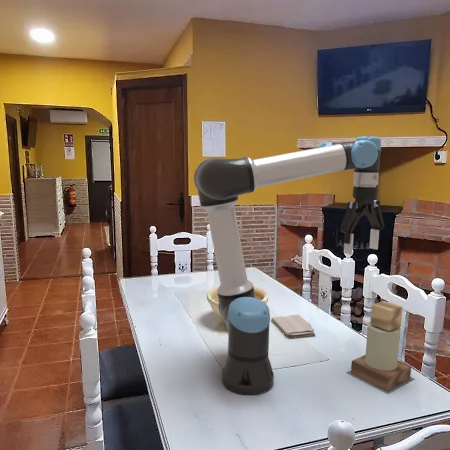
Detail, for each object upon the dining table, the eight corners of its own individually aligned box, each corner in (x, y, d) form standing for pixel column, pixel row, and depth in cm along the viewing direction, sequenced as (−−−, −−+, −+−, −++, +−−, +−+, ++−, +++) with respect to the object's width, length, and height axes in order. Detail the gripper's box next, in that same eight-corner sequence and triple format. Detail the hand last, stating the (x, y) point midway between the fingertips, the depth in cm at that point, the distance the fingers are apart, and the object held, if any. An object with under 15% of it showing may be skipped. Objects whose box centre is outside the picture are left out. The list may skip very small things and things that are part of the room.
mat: (387, 395, 112) (387, 394, 112) (345, 373, 123) (345, 372, 123) (415, 380, 120) (415, 378, 120) (373, 361, 131) (373, 360, 131)
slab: (386, 391, 113) (387, 378, 113) (350, 373, 123) (351, 360, 122) (410, 378, 120) (411, 365, 120) (374, 362, 130) (375, 350, 129)
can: (400, 372, 116) (404, 332, 114) (366, 369, 117) (369, 329, 116) (394, 357, 125) (397, 320, 123) (362, 354, 126) (365, 317, 125)
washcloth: (287, 340, 147) (288, 332, 146) (269, 322, 164) (269, 314, 163) (317, 337, 150) (318, 329, 149) (296, 319, 167) (297, 312, 166)
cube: (389, 331, 115) (390, 310, 114) (370, 324, 120) (371, 304, 119) (400, 326, 118) (402, 306, 117) (382, 319, 123) (383, 300, 122)
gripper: (350, 187, 119) (346, 258, 123) (398, 185, 134) (393, 248, 137) (330, 186, 125) (326, 253, 129) (378, 184, 140) (373, 245, 143)
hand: (361, 251), depth 133 cm, fingers open, 13 cm apart
